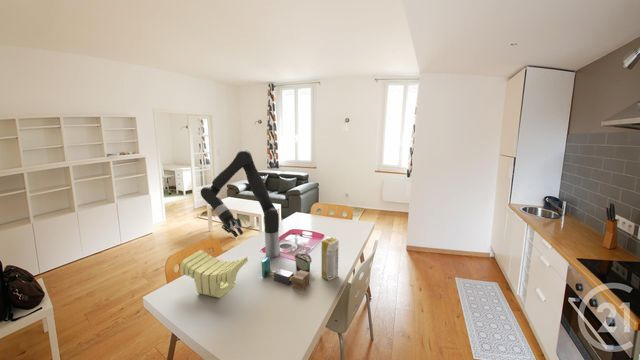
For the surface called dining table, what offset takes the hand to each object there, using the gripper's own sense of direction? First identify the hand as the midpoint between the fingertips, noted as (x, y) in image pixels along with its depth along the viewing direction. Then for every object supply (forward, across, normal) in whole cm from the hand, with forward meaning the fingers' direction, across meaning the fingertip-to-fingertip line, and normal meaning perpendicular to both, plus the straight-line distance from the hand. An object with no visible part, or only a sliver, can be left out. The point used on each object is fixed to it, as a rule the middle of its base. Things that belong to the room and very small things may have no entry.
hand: (239, 235), depth 165 cm
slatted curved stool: (+18, -24, +13) cm, 33 cm away
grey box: (+35, 0, -4) cm, 36 cm away
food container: (+42, +15, -10) cm, 46 cm away
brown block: (+46, 0, -15) cm, 48 cm away
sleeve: (+38, 0, -7) cm, 38 cm away
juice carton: (+53, +16, -22) cm, 60 cm away
